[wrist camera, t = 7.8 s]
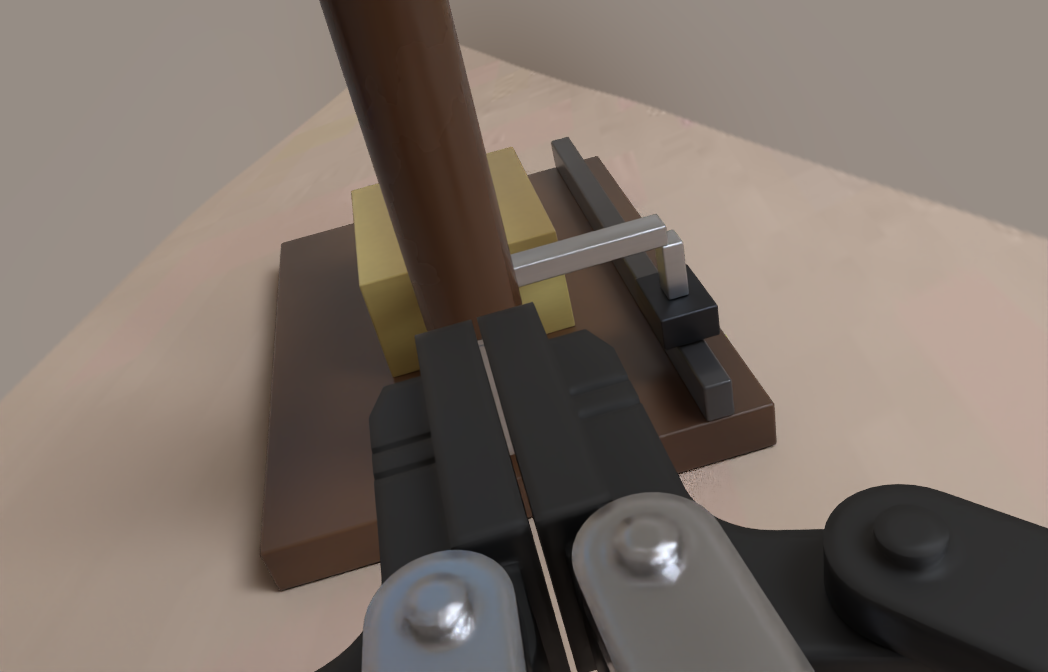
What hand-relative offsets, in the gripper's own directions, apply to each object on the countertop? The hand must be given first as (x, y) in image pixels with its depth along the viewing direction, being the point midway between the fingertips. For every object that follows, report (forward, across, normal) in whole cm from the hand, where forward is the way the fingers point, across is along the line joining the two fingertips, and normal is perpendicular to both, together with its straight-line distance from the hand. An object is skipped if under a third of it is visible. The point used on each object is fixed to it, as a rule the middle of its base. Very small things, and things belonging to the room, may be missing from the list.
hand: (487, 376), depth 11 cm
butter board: (+17, 0, +11) cm, 20 cm away
